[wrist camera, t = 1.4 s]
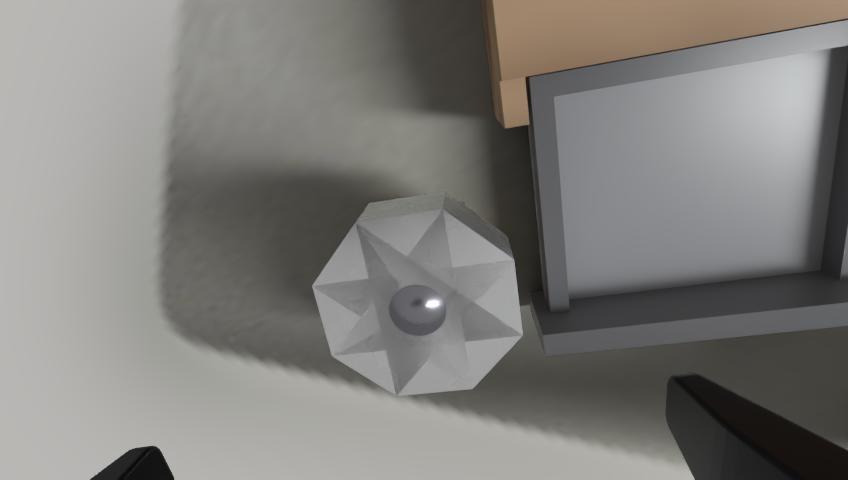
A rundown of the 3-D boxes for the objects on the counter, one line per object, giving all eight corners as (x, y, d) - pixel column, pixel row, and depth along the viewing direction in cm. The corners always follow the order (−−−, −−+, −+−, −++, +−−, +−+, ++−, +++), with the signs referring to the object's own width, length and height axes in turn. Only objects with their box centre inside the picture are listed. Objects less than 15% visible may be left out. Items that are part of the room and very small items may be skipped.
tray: (831, 275, 20) (913, 319, 16) (530, 310, 21) (545, 356, 18) (868, 14, 16) (982, -4, 13) (506, 80, 18) (517, 80, 14)
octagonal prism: (520, 346, 18) (528, 384, 16) (357, 363, 19) (344, 401, 17) (500, 182, 16) (507, 200, 14) (318, 210, 17) (295, 231, 15)
